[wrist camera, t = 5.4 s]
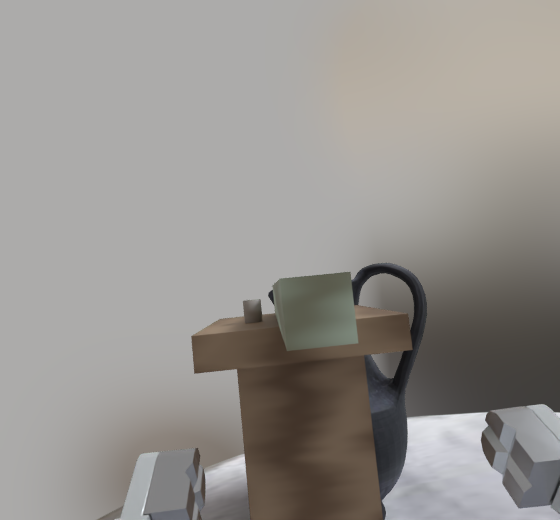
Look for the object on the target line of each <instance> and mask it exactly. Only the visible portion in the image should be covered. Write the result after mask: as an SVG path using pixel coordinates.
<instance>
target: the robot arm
mask: <svg viewBox="0 0 560 520" xmlns="http://www.w3.org/2000/svg"><path fill="white" fill-rule="evenodd" d="M485 421H486V422H487V424H488V425H489V426H488V427H487V428H486V429H485V430H484V431H483V432H482V437H481V443H482V448H483V452H484V454H485V456H486V458H487V460H488V462H489V463H490V465H491V467H492V468H494V469H495V470H497V471H498V472H500V473H501V474H503V480H502V484H503V485H504V487H505V488H506V490H507V491H508V493H509V494H510V496H511V497H512V499H513V500H514V502H515V504H516V505H517V507H518V508H528V507H538V506H547V505H551V508H553V509H554V510H555V511H556V512H558V513H559V514H560V418H559V417H558V416H557V415H556V414H555V413H554V412H553V411H552V410H551V409H550V408H549V407H547V406H546V405H543V404H540V405H532V406H525V407H523V406H522V407H514V408H507V409H500V410H493V411H490V412H488V413H487V415H486V419H485ZM199 462H200V454H199V450H198V448H193V449H183V450H172V451H162V452H153V453H145V454H141V455H140V456H139V458H138V460H137V462H136V465H135V469H134V472H133V475H132V479H131V482H130V486H129V489H128V493H127V496H126V499H125V503H124V506H123V509H122V513H121V516H120V518H118V519H114V520H202V519H201V516H200V511H201V509H202V508H203V506H204V503H205V474H204V469H203V467H202V466H201V465H199Z"/></svg>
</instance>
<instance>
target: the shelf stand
mask: <svg viewBox="0 0 560 520" xmlns="http://www.w3.org/2000/svg"><path fill="white" fill-rule="evenodd" d="M243 306H244V317H235V318H225V319H220V320H218V321H216V322H214V323H213V324H211V325H209V326H208V327H206V328H204V329H203V330H201V331H199V332H198V333H196V334H194V335H193V336H192V349H193V361H194V373H204V372H214V371H223V370H232V369H237V373H238V384H239V395H240V406H241V418H242V429H243V441H244V451H245V463H246V475H247V486H248V497H249V509H250V520H383V515H382V506H381V498H380V489H379V481H378V472H377V463H376V455H375V446H374V437H373V429H372V420H371V411H370V403H369V394H368V385H367V377H366V368H365V360H364V355H370V354H380V353H388V352H397V351H407V350H413V349H412V341H411V333H410V325H409V317H408V314H407V313H401V312H395V311H389V310H383V309H377V308H371V307H364V306H359V305H354V309H355V317H356V326H357V335H358V343H357V344H348V345H339V346H329V347H320V348H311V349H301V350H292V351H287V349H286V346H285V343H284V340H283V337H282V334H281V331H280V327H279V324H278V321H277V318H276V315H275V313H274V314H265V315H262V311H261V300H260V299H257V300H247V301H243Z"/></svg>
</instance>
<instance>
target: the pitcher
mask: <svg viewBox="0 0 560 520" xmlns="http://www.w3.org/2000/svg"><path fill="white" fill-rule="evenodd" d="M380 273H387V274H391V275H393V276H395V277H398V278H400V279H401V280H403V281H404V282H406V284H407V285H408V286H409V288H410V290H411V292H412V295H413V300H414V319H413V323H412V327H411V330H410V333H411V341H412V349H413V350H407V351H403V354H402V358H401V361H400V363H399V366H398V369H397V371H396V374H395V376H394V378H392V379H390V378H387V377H385V376H384V375H383V374H382V373H381V371H380V370H379V368H378V367H377V365H376V363H375V362H374V360H373V358H372V357H371V355H364V360H365V368H366V377H367V385H368V394H369V403H370V411H371V420H372V429H373V437H374V446H375V455H376V463H377V472H378V481H379V489H380V498H381V506H382V515H383V520H384V519H385V516H386V511H385V507H384V505H383V503H382V500H383V499H384V497H385V496H386V495H387V494H388V493H389V492H390V491H391V490H392V488H393V487H394V485H395V484H396V482H397V480H398V479H399V477H400V474H401V472H402V469H403V466H404V462H405V457H406V450H407V434H408V432H407V417H406V409H405V388H406V386H407V383H408V379H409V375H410V373H411V370H412V367H413V364H414V361H415V358H416V355H417V352H418V349H419V346H420V343H421V340H422V337H423V332H424V328H425V323H426V316H427V302H426V297H425V293H424V290H423V288H422V285H421V283H420V282H419V280H418V279H417V277H416V276H415V275H414V274H413V273H411V272H410V271H409V270H407V269H405V268H403V267H401V266H398V265H395V264H391V263H381V264H379V263H378V264H373V265H369V266H367V267H364V268H362V269H361V270H360V271H359V272H358V273H357V275H356V277H355V278H354V279H353V280H351V283H352V291H353V300H354V305H358V302H359V296H360V291H361V288H362V286H363V284H364V283H365V282H366V281H367V280H368V279H369V278H370V277H371V276H373V275H377V274H380ZM268 296H269V298H270V300H271V301H272V303H273V304H274V296H273V290H272V291H270V292H269V295H268Z"/></svg>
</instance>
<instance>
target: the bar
mask: <svg viewBox="0 0 560 520" xmlns="http://www.w3.org/2000/svg"><path fill="white" fill-rule="evenodd" d="M273 296H274V306H275V315H276V318H277V321H278V324H279V327H280V331H281V334H282V337H283V340H284V343H285V346H286V349H287V351H292V350H301V349H311V348H320V347H329V346H339V345H348V344H357V343H358V335H357V326H356V317H355V309H354V300H353V291H352V283H351V274H350V272H344V273H335V274H324V275H314V276H304V277H295V278H294V277H293V278H283V279H279V280H278V281H277V282H276V283H275V284H274V285H273Z"/></svg>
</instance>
